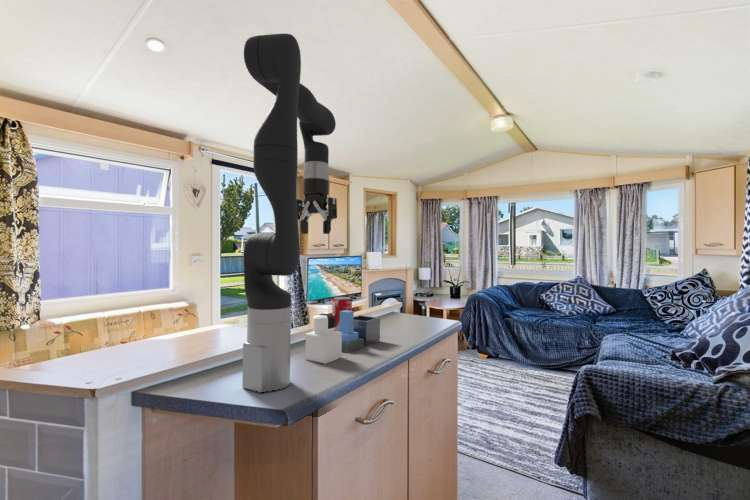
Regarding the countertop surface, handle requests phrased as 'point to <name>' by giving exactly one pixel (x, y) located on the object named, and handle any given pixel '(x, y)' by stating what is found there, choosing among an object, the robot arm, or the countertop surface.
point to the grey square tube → (367, 328)
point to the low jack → (353, 345)
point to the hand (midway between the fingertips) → (315, 233)
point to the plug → (347, 326)
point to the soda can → (340, 309)
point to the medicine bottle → (323, 340)
